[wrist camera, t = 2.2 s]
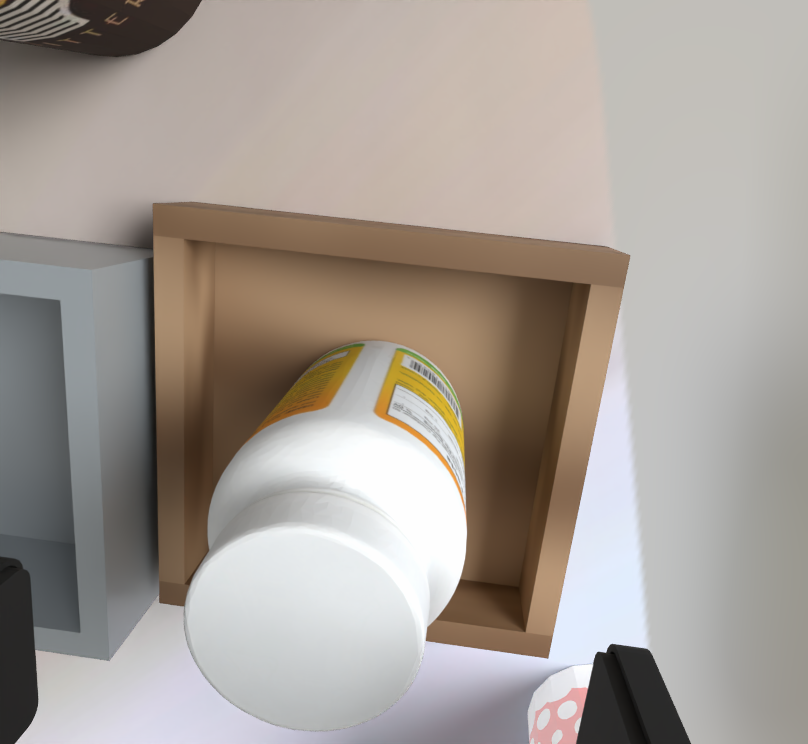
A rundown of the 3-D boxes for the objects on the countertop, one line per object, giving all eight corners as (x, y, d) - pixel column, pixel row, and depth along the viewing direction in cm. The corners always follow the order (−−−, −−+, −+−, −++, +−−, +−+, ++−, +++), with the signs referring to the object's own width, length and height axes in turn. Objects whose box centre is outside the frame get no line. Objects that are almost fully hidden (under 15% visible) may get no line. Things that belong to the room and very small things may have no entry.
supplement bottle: (286, 486, 20) (139, 741, 11) (297, 325, 19) (135, 460, 9) (450, 510, 20) (445, 793, 11) (475, 349, 18) (494, 513, 9)
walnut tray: (193, 202, 18) (152, 203, 16) (606, 246, 17) (630, 255, 15) (192, 557, 21) (159, 603, 19) (537, 605, 21) (548, 658, 18)
